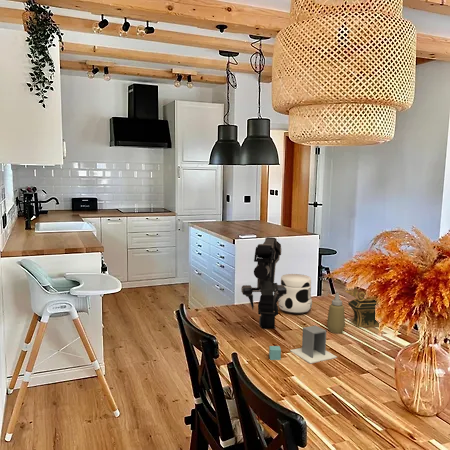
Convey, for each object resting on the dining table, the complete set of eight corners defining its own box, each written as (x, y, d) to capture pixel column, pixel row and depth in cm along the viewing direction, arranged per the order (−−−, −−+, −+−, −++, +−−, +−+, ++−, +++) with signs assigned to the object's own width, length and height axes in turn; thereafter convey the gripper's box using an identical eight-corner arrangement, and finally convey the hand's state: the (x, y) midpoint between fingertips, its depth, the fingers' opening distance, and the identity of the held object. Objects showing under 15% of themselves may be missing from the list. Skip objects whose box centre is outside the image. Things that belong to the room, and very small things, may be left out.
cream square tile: (316, 345, 181) (316, 344, 181) (337, 357, 169) (337, 356, 169) (290, 351, 175) (290, 350, 175) (310, 363, 164) (310, 362, 164)
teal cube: (279, 355, 171) (279, 346, 170) (280, 360, 167) (280, 350, 166) (269, 355, 171) (269, 346, 170) (270, 360, 167) (270, 350, 166)
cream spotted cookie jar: (273, 306, 233) (274, 274, 230) (303, 305, 237) (304, 272, 235) (285, 317, 216) (286, 282, 214) (317, 315, 220) (318, 280, 218)
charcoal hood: (314, 349, 176) (315, 325, 175) (325, 355, 171) (326, 330, 169) (301, 351, 174) (302, 327, 172) (312, 358, 168) (313, 333, 167)
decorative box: (378, 320, 214) (380, 281, 211) (388, 327, 204) (391, 286, 202) (340, 321, 211) (341, 282, 208) (348, 329, 201) (350, 287, 199)
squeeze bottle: (346, 329, 200) (348, 291, 198) (343, 335, 192) (345, 296, 190) (328, 327, 203) (330, 289, 201) (324, 332, 196) (326, 294, 194)
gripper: (245, 278, 176) (244, 315, 178) (290, 278, 178) (289, 314, 180) (241, 272, 187) (240, 307, 189) (284, 271, 189) (282, 306, 191)
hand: (263, 309), depth 187 cm, fingers open, 9 cm apart
